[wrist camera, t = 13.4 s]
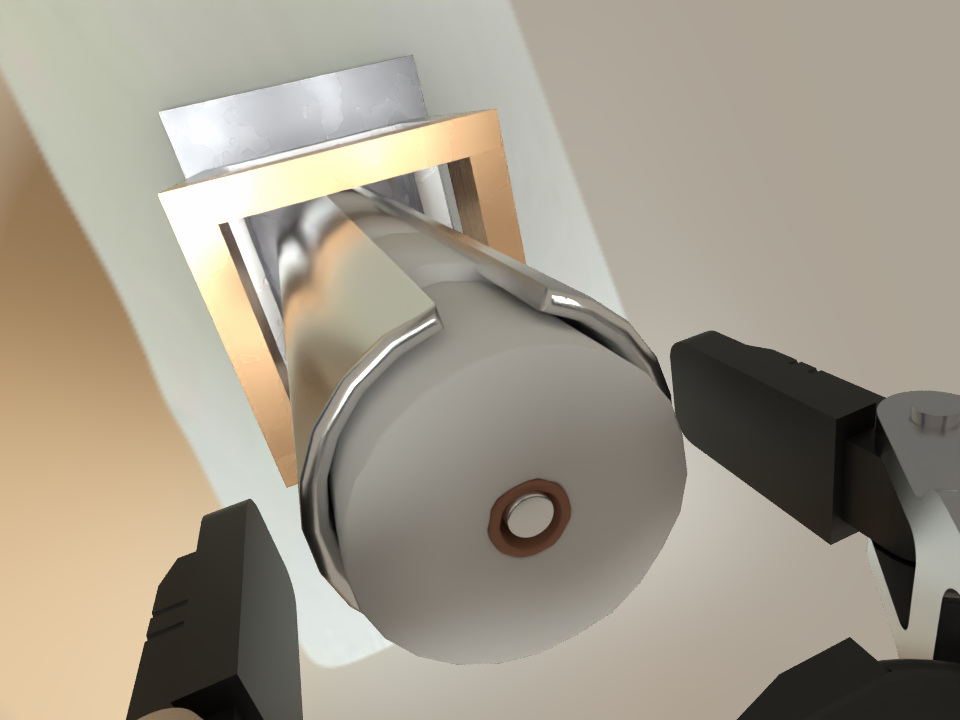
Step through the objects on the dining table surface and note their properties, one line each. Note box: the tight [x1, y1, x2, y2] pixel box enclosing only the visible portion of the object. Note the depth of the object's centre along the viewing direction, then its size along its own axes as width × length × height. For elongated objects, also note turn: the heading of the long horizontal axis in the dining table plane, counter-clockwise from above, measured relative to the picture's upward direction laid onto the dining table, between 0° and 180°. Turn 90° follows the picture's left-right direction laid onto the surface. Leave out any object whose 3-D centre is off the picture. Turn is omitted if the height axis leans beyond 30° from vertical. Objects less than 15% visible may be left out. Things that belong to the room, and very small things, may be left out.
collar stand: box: [158, 55, 526, 488], centre depth 26 cm, size 16×12×14 cm
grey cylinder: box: [276, 185, 687, 665], centre depth 20 cm, size 6×6×25 cm
